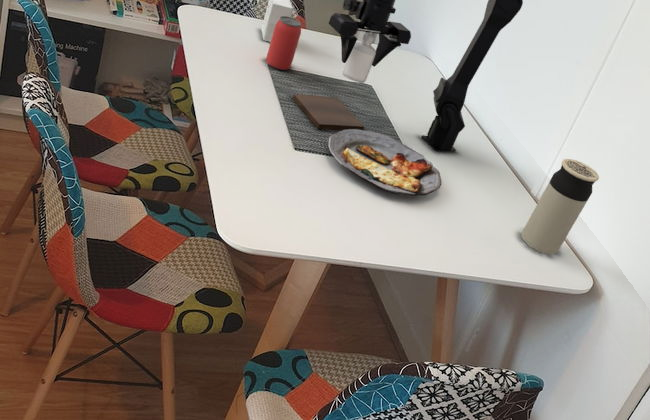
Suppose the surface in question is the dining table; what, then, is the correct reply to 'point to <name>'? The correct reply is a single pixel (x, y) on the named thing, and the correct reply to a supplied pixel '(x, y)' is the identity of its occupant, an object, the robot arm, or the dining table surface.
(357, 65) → the eye dropper bottle
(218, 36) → the dining table surface
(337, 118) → the walnut board
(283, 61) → the beer can
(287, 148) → the dining table surface
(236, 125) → the dining table surface
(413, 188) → the food plate
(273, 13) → the small box
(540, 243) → the travel mug
